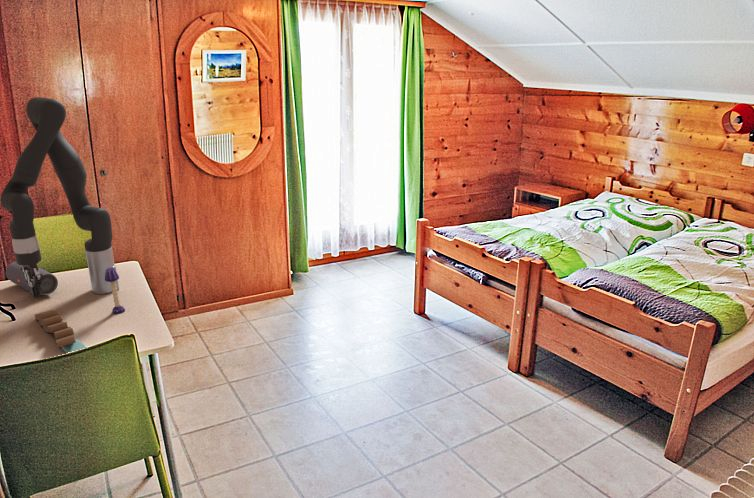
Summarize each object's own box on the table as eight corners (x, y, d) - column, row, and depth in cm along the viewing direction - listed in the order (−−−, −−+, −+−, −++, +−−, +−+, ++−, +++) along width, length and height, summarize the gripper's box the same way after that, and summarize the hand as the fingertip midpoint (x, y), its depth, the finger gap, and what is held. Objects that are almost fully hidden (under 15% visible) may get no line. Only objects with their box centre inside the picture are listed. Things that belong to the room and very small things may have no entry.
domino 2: (38, 320, 199) (44, 319, 191) (54, 315, 202) (60, 315, 194) (40, 325, 199) (45, 325, 191) (56, 321, 202) (62, 321, 195)
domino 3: (42, 325, 195) (49, 326, 188) (58, 321, 198) (66, 321, 191) (44, 331, 195) (51, 332, 188) (60, 326, 199) (68, 327, 191)
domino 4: (52, 331, 191) (55, 333, 183) (69, 326, 194) (72, 328, 186) (54, 337, 192) (56, 339, 183) (71, 332, 194) (74, 334, 186)
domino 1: (34, 314, 203) (40, 314, 195) (50, 310, 206) (56, 309, 199) (36, 320, 203) (42, 319, 195) (51, 315, 206) (58, 315, 199)
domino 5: (55, 338, 187) (56, 341, 178) (72, 333, 189) (73, 336, 181) (57, 344, 187) (58, 347, 179) (74, 339, 190) (75, 342, 181)
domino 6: (61, 344, 184) (72, 356, 178) (77, 339, 188) (89, 350, 181) (62, 350, 185) (73, 362, 178) (78, 344, 188) (90, 356, 182)
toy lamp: (117, 315, 207) (110, 271, 201) (107, 313, 208) (100, 269, 203) (127, 309, 211) (120, 267, 205) (117, 307, 213) (110, 265, 207)
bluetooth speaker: (6, 287, 229) (1, 264, 225) (30, 280, 236) (25, 256, 233) (37, 301, 217) (31, 277, 213) (61, 293, 224) (56, 269, 221)
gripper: (6, 247, 198) (17, 293, 204) (22, 256, 190) (32, 304, 196) (30, 241, 204) (39, 287, 210) (46, 250, 196) (55, 297, 202)
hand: (36, 295), depth 203 cm, fingers closed
